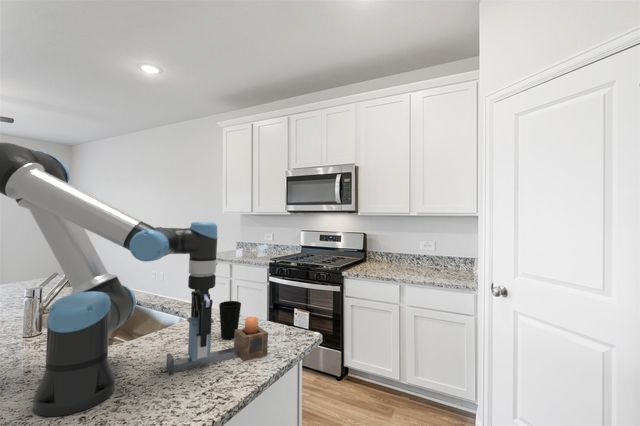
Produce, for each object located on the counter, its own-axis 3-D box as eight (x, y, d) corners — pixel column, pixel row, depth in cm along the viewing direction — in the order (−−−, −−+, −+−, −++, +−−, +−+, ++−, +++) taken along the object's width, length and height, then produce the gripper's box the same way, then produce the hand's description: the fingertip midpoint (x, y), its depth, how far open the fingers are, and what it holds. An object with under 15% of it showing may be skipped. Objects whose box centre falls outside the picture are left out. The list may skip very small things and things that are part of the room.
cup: (226, 342, 108) (227, 307, 108) (213, 337, 113) (214, 303, 113) (244, 336, 114) (245, 303, 114) (231, 331, 119) (232, 299, 119)
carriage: (190, 362, 88) (192, 323, 88) (186, 354, 92) (187, 318, 93) (212, 357, 91) (213, 320, 92) (206, 350, 96) (208, 314, 96)
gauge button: (247, 334, 97) (248, 321, 97) (242, 330, 101) (243, 318, 101) (259, 332, 100) (259, 319, 100) (254, 328, 103) (254, 316, 103)
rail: (169, 375, 85) (170, 360, 85) (166, 367, 89) (166, 353, 89) (243, 357, 97) (243, 344, 97) (237, 351, 101) (237, 339, 101)
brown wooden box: (243, 361, 94) (244, 338, 94) (233, 351, 101) (234, 329, 101) (267, 355, 99) (268, 333, 99) (256, 346, 106) (257, 325, 106)
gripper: (225, 278, 87) (221, 362, 87) (206, 268, 102) (203, 340, 101) (197, 280, 83) (193, 369, 82) (181, 270, 97) (178, 345, 97)
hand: (199, 353), depth 92 cm, fingers closed on carriage, 5 cm apart
